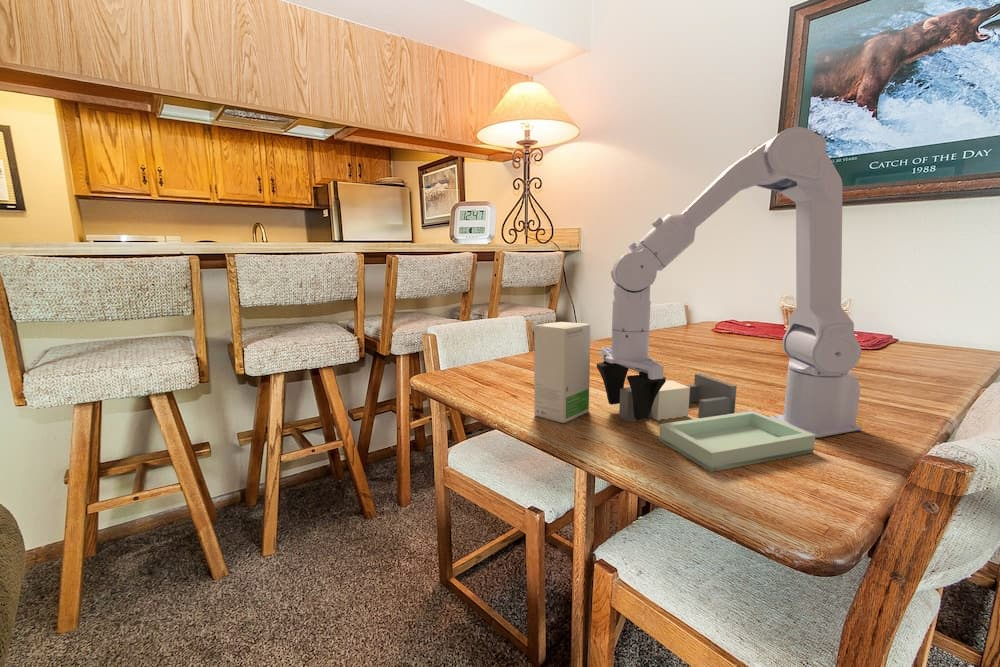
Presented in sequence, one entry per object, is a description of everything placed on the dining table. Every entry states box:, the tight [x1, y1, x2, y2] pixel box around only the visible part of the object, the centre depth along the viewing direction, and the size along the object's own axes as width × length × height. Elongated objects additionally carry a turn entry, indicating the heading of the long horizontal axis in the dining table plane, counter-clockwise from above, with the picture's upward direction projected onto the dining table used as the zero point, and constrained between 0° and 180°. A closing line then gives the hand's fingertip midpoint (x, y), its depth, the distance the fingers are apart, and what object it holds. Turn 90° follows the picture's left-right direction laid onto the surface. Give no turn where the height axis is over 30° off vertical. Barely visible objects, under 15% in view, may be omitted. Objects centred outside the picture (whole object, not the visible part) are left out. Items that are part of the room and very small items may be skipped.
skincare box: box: [533, 321, 591, 424], centre depth 73 cm, size 8×7×16 cm
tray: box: [658, 410, 816, 473], centre depth 61 cm, size 17×10×2 cm, turn 107°
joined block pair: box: [618, 380, 690, 423], centre depth 73 cm, size 11×4×5 cm, turn 107°
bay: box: [685, 373, 737, 419], centre depth 75 cm, size 6×8×5 cm
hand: (627, 410), depth 71 cm, fingers open, 7 cm apart
